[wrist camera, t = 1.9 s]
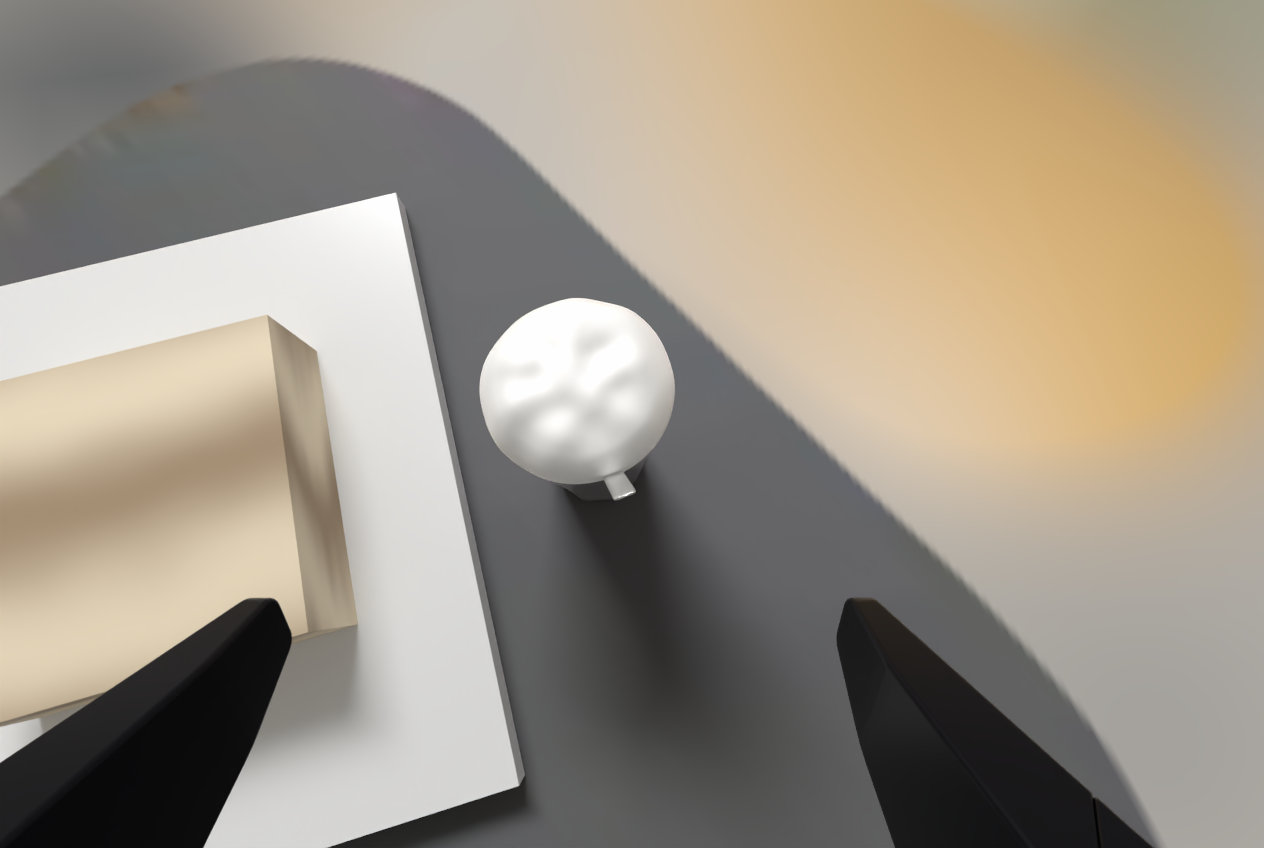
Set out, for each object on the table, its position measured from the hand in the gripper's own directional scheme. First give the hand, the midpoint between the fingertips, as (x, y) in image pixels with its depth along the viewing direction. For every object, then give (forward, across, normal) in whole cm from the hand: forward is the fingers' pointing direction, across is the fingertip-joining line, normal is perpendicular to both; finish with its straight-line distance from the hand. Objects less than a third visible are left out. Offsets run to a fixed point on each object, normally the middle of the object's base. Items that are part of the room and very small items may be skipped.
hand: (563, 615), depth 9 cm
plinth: (+10, +14, +6) cm, 18 cm away
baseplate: (+10, +14, +6) cm, 18 cm away
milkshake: (+11, 0, +5) cm, 12 cm away
